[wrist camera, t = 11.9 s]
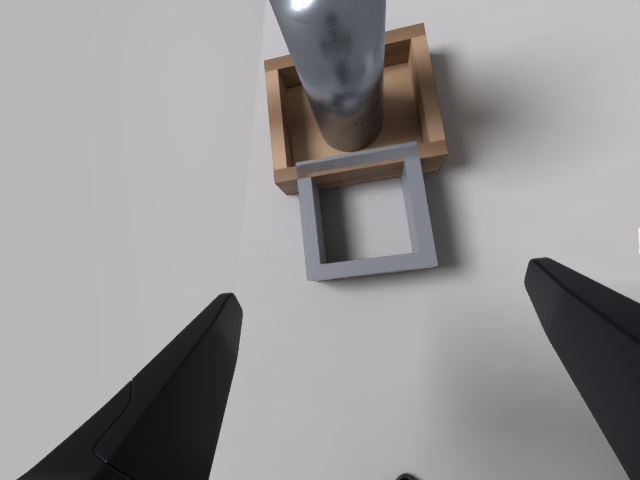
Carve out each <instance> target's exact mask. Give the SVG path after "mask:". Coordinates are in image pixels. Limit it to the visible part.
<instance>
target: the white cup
mask: <svg viewBox="0 0 640 480" xmlns="http://www.w3.org/2000/svg"><path fill="white" fill-rule="evenodd" d="M638 239H639V252H640V227H639V229H638Z"/></svg>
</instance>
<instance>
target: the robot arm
mask: <svg viewBox="0 0 640 480" xmlns="http://www.w3.org/2000/svg"><path fill="white" fill-rule="evenodd" d="M524 283H525V288H526V290H527V292H528V295H529V297H530V299H531V301H532V304H533V306H534V308H535V311H536V313H537V315H538V318H539V320H540V322H541V324H542V327H543V329H544V331H545V333H546V335H547V337H548V339H549V341H550V343H551V344H552V346H553V348H554V349H555V351H556V353H557V355H558V356H559V358H560V360H561V362H562V363H563V365H564V367H565V368H566V370H567V372H568V374H569V375H570V377H571V379H572V380H573V382H574V384H575V386H576V387H577V389H578V391H579V392H580V394H581V396H582V398H583V399H584V401H585V403H586V404H587V406H588V408H589V410H590V411H591V413H592V415H593V416H594V418H595V420H596V422H597V423H598V425H599V427H600V429H601V430H602V432H603V434H604V435H605V437H606V439H607V441H608V442H609V444H610V446H611V447H612V449H613V451H614V453H615V454H616V456H617V458H618V459H619V461H620V463H621V465H622V466H623V468H624V470H625V471H626V473H627V475H628V477H629V478H630V480H640V303H638V302H636V301H634V300H632V299H630V298H628V297H626V296H624V295H622V294H620V293H618V292H616V291H614V290H612V289H610V288H608V287H606V286H604V285H602V284H600V283H598V282H596V281H594V280H592V279H590V278H588V277H586V276H584V275H582V274H580V273H578V272H576V271H574V270H572V269H570V268H568V267H566V266H564V265H562V264H560V263H558V262H556V261H554V260H552V259H550V258H547V257H543V258H534V259H531V260H530V261H529V264H528V268H527V271H526V275H525V280H524ZM242 318H243V311H242V308H241V306H240V304H239V302H238V300H237V298H236V296H235V295H234V294H233V293H223V294H220V295H219V296H218V297H216V299H214V300H213V301H212V302H211V303H210V304H209V305H208V306H207V307H206V308H205V309H204V310H203V311H202V312H201V313H200V314H199V315H198V316H197V317H196V318H195V319H194V320H193V321H192V322H191V323H190V324H189V325H188V326H187V327H185V329H183V330H182V331H181V332H180V333H179V334H178V335H177V336H176V337H175V338H174V339H173V340H172V341H171V342H170V343H169V344H168V345H167V346H166V347H165V348H164V349H163V350H162V351H161V352H160V353H159V354H158V355H157V356H155V357H154V358H153V359H152V360H151V361H150V362H149V363H148V364H147V365H146V366H145V367H144V368H143V369H142V370H141V371H140V372H139V373H138V374H137V375H136V376H135V377H134V378H133V379H132V381H129V383H127V384H126V385H125V386H124V387H123V388H122V389H121V390H120V391H119V392H118V393H117V394H116V395H115V396H114V397H113V398H112V399H111V400H110V401H108V403H106V404H105V405H104V406H103V407H102V408H101V409H100V410H99V411H98V412H97V413H95V414H94V415H93V416H92V417H91V418H90V419H89V420H87V421H86V422H85V423H84V424H83V425H82V426H81V427H80V428H78V429H77V430H76V431H75V432H74V433H72V434H71V435H70V436H69V437H68V438H67V439H66V440H64V441H63V442H62V443H61V444H60V445H58V446H57V447H56V448H55V449H54V450H53V451H52V452H50V453H49V454H48V455H47V456H46V457H45V458H43V459H42V460H41V461H40V462H39V463H38V464H36V465H35V466H34V467H33V468H32V469H30V470H29V471H28V472H27V473H25V474H24V475H22V476H21V477H20V478H18V479H17V480H209V475H210V471H211V467H212V463H213V459H214V455H215V450H216V446H217V442H218V438H219V434H220V429H221V425H222V421H223V417H224V413H225V408H226V404H227V400H228V396H229V392H230V387H231V383H232V379H233V375H234V371H235V366H236V362H237V356H238V350H239V342H240V334H241V326H242ZM396 480H413V479H412V478H411V477H410V476H408V475H406V474H402V475H400V476H399V477H398V478H397V479H396Z"/></svg>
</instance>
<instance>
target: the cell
mask: <svg viewBox="0 0 640 480" xmlns="http://www.w3.org/2000/svg"><path fill="white" fill-rule="evenodd" d="M269 1H270V3H271V6H272V8H273V11H274V14H275V16H276V19H277V21H278V24H279V26H280V29H281V32H282V34H283V37H284V39H285V42H286V44H287V47H288V50H289V52H290V55H291V57H292V60H293V62H294V65H295V68H296V70H297V73H298V75H299V78H300V80H301V83H302V86H303V88H304V91H305V93H306V96H307V98H308V101H309V104H310V106H311V109H312V111H313V114H314V116H315V119H316V122H317V124H318V127H319V129H320V132H321V134H322V137H323V139H324V140H325V141H326V143H327V144H328V145H329V146H331V147H332V148H334V149H336V150H339V151H343V152H354V151H359V150H361V149H364V148H366V147H367V146H369V145H370V144H371V143H372V142H373V141H374V140H375V139H376V138H377V137H378V135H379V133H380V131H381V128H382V124H383V92H384V51H385V10H386V0H269Z"/></svg>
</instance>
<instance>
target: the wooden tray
mask: <svg viewBox="0 0 640 480" xmlns="http://www.w3.org/2000/svg"><path fill="white" fill-rule="evenodd" d="M264 66H265V77H266V89H267V100H268V112H269V123H270V134H271V146H272V157H273V169H274V180H275V184H276V185H277V186H278V187H279V188H280V189H281V190H282V191H283V192H284V193H285V194H286V195H289V194H296V193H299V192H298V182H297V178H298V179H302V177H303V176H304V177H303V178H308V177H309V175H310V176H311V178H312V180H313V181H314V183H315V185H316V186H317V188H318V190H320V189H326V188H332V187H339V186H345V185H351V184H357V183H363V182H369V181H375V180H382V179H388V178H394V177H400V176H401V174H402V169H403V165H404V157H405V156H404V155H403V156H404V157H403V158H398V157H397V158H398V159H392V160H387V158H386V161H382V160H383V159H382V160H381V157H380V156H376V157H380V158H379V160H380V162H375V161H376V160H375V159H373V160H375V161H373V163H369V164H367V163H366V164H363V165H361V162H362V161H363V160H362V161H361V162H360V163H359V161H360V160H358V161H356V163H355V164H357V162H358V163H359V164H360V165H359V164H358V165H357V166H354V165H353V166H352V162H353V161H352V160H351V161H352V162H351V166H350V164H349V165H348V164H347V163H345V165H346V166H347V165H348V166H350V167H345V166H344V167H343V165H344V164H343V163H342V164H343V165H342V164H341V165H342V168H341V167H340V166H341V165H340V164H339V165H340V166H339V167H338V166H335V167H334V165H337V164H335V163H336V162H335V163H334V161H336V160H335V159H333V160H332V162H333V163H334V164H332V163H331V164H330V165H328V166H329V167H331V166H333V167H334V168H336V169H334V168H333V167H332V168H333V169H334V170H330V169H329V170H328V171H326V170H327V169H326V165H327V164H326V165H325V163H327V161H326V162H325V163H324V164H322V165H323V167H324V165H325V167H324V168H323V169H322V168H320V165H317V164H318V163H319V164H320V162H318V163H317V164H315V163H314V164H315V165H317V166H319V168H317V167H316V168H317V169H316V170H315V168H314V167H313V166H314V165H313V164H312V163H311V165H310V164H307V165H309V166H310V167H311V166H312V167H313V168H314V169H313V168H312V169H313V170H315V171H316V173H314V172H312V170H311V172H312V173H311V174H309V172H307V173H308V174H309V175H308V174H306V173H305V172H304V171H305V170H306V169H307V168H308V167H309V166H308V167H307V166H306V165H302V166H303V167H304V168H303V167H302V166H301V165H300V166H301V167H302V170H301V171H302V172H301V173H300V170H299V169H301V167H300V166H296V163H297V162H302V161H308V160H314V159H319V158H325V157H330V156H336V155H341V154H347V153H353V152H343V151H339V150H336V149H334V148H332V147H331V146H329V145H328V144H327V143H326V141H325V140H324V139H323V137H322V134H321V132H320V129H319V127H318V124H317V122H316V119H315V116H314V114H313V111H312V109H311V106H310V104H309V101H308V98H307V96H306V93H305V91H304V88H303V86H302V83H301V80H300V78H299V75H298V73H297V70H296V68H295V65H294V62H293V60H292V57H291V55H286V56H282V57H278V58H274V59H269V60H265V61H264ZM414 141H417V145H418V151H419V157H420V163H421V169H422V173H424V172H431V171H437V170H439V169H440V167H441V165H442V164H443V162H444V160H445V158H446V156H447V155H448V150H447V145H446V140H445V134H444V129H443V124H442V118H441V113H440V108H439V102H438V97H437V92H436V87H435V81H434V76H433V71H432V65H431V60H430V55H429V49H428V44H427V39H426V33H425V28H424V23H420V24H416V25H412V26H408V27H404V28H399V29H395V30H391V31H387V32H385V51H384V92H383V124H382V128H381V131H380V133H379V135H378V137H377V138H376V139H375V140H374V141H373V142H372V143H371V144H370V145H369V146H367V147H366V148H364V149H361V150H359V151H364V150H369V149H375V148H380V147H386V146H392V145H397V144H403V143H408V142H414ZM413 146H414V145H413ZM409 147H410V146H409ZM402 148H403V147H402ZM406 148H407V147H405V149H406ZM416 148H417V147H416ZM403 149H404V148H403ZM405 149H404V150H405ZM390 150H391V149H390ZM409 150H410V148H409ZM412 150H414V149H412ZM387 151H389V150H387ZM392 151H393V150H392ZM398 151H399V150H398ZM416 151H417V150H416ZM354 152H358V151H354ZM378 152H380V151H378ZM394 152H397V151H394ZM404 152H405V151H404ZM409 152H410V151H409ZM374 153H375V152H374ZM387 153H388V152H387ZM389 153H390V151H389ZM397 153H398V152H397ZM402 153H403V152H402ZM410 153H411V152H410ZM414 153H415V152H414ZM369 154H370V153H369ZM371 154H372V153H371ZM371 154H370V155H371ZM398 154H399V153H398ZM366 155H368V154H366ZM366 155H365V156H366ZM372 155H373V154H372ZM372 155H371V156H372ZM376 155H377V154H376ZM383 155H384V153H383ZM383 155H382V156H383ZM385 155H387V154H385ZM389 155H390V154H389ZM395 155H396V154H395ZM401 155H402V154H401ZM408 155H409V154H408ZM408 155H407V156H408ZM361 156H364V155H362V154H361ZM390 156H391V157H392V155H390ZM407 156H406V157H407ZM351 157H352V156H351ZM353 157H354V156H353ZM355 157H357V156H356V155H355ZM372 157H375V156H372ZM386 157H388V156H386ZM393 157H394V156H393ZM346 158H347V157H346ZM346 158H345V157H344V158H342V159H343V161H344V160H345V159H346ZM348 158H349V157H348ZM357 158H358V157H357ZM367 158H368V156H367ZM367 158H365V161H367V160H368V159H367ZM382 158H383V157H382ZM339 159H340V158H339ZM342 159H340V160H342ZM359 159H360V157H359ZM361 159H362V157H361ZM366 159H367V160H366ZM415 159H416V158H415ZM340 160H337V163H340V162H338V161H340ZM346 160H347V159H346ZM353 160H354V159H353ZM369 160H370V159H369ZM379 160H378V161H379ZM410 160H411V159H410ZM405 161H406V160H405ZM323 162H324V161H323ZM330 162H331V160H330ZM345 162H346V161H345ZM354 162H355V160H354ZM354 162H353V164H354ZM371 162H372V161H371ZM321 163H322V162H321ZM322 165H321V166H322ZM305 166H306V167H305ZM296 167H297V169H298V168H299V169H298V171H299V173H300V174H303V175H299V176H298V174H299V173H298V171H297V172H296ZM310 167H309V169H310ZM332 168H331V169H332ZM337 168H340V169H337ZM303 169H305V170H304V171H303ZM309 169H308V171H310V170H309ZM318 169H319V170H321V171H322V170H323V171H322V172H320V171H318V172H317V170H318ZM325 169H326V170H325ZM324 170H325V171H324ZM306 171H307V170H306ZM297 173H298V174H297ZM304 173H305V175H304ZM297 176H298V177H297ZM301 176H302V177H301Z"/></svg>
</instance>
